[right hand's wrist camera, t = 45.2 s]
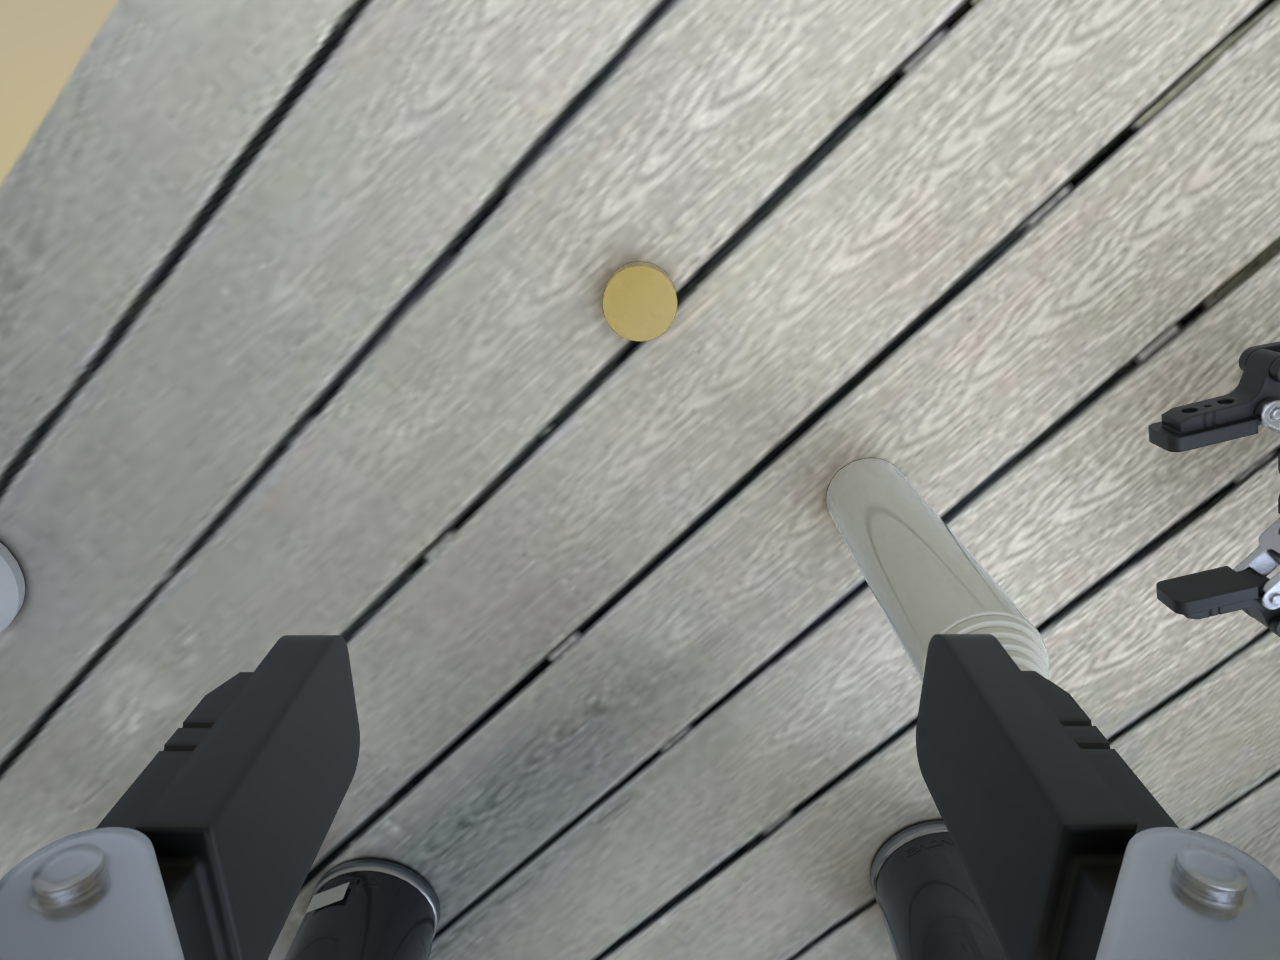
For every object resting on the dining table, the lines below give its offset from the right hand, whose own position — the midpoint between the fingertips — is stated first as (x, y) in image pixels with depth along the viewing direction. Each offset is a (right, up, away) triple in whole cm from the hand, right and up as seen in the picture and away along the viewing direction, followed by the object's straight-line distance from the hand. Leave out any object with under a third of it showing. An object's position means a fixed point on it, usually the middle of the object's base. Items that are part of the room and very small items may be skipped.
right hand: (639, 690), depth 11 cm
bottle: (+14, +2, +39) cm, 41 cm away
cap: (0, +12, +33) cm, 35 cm away
